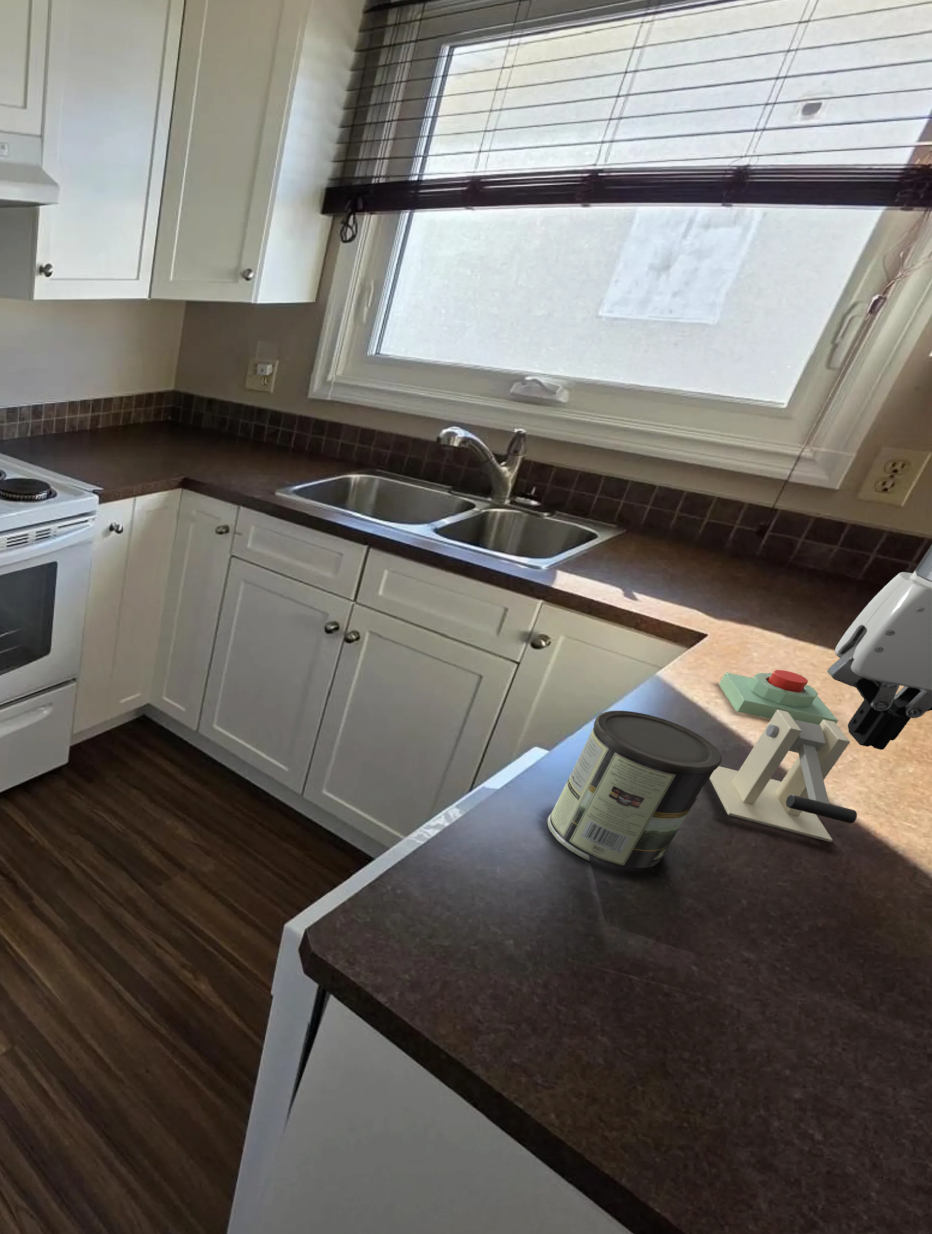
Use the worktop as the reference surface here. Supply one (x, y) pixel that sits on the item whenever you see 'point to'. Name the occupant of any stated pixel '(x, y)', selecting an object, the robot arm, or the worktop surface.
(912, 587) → the robot arm
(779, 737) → the bracket
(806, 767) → the lever
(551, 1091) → the worktop surface
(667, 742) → the coffee can
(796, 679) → the button
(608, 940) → the worktop surface
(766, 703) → the button box
